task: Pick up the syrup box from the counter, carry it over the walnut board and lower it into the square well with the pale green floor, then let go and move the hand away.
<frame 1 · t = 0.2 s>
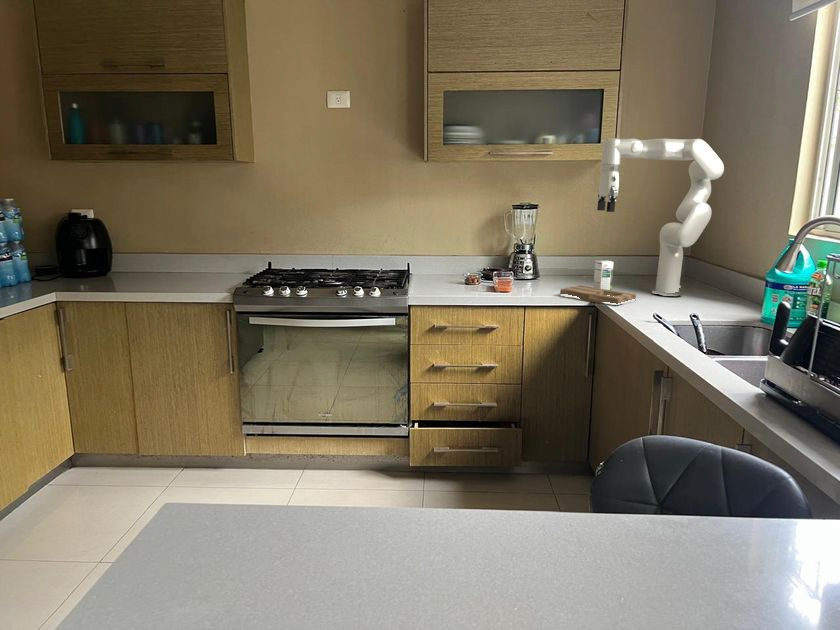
hand: (605, 211, 258), 36 cm above the countertop, tool pointing down, fingers open, 9 cm apart
syrup box: (601, 294, 271), on the countertop
board: (597, 298, 258), on the countertop
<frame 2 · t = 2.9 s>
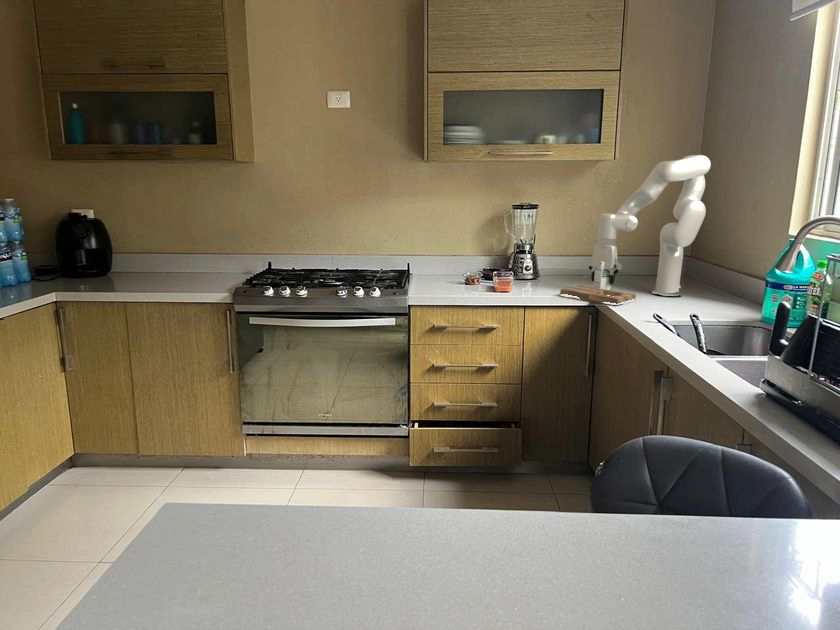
hand: (602, 282, 269), 5 cm above the countertop, tool pointing down, fingers closed on syrup box, 7 cm apart
syrup box: (601, 293, 271), on the countertop, touching gripper
when the fingers open (7 cm above the countertop, at t = 8.2 s): syrup box drops 1 cm, resting on board.
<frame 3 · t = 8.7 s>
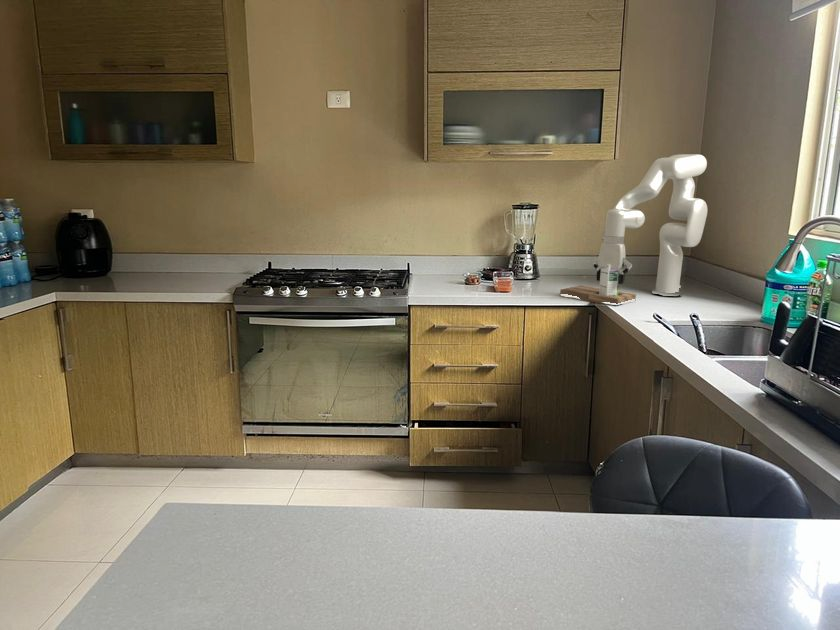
hand: (609, 282, 253), 8 cm above the countertop, tool pointing down, fingers open, 9 cm apart
syrup box: (607, 298, 255), point 1 cm above the countertop, touching board
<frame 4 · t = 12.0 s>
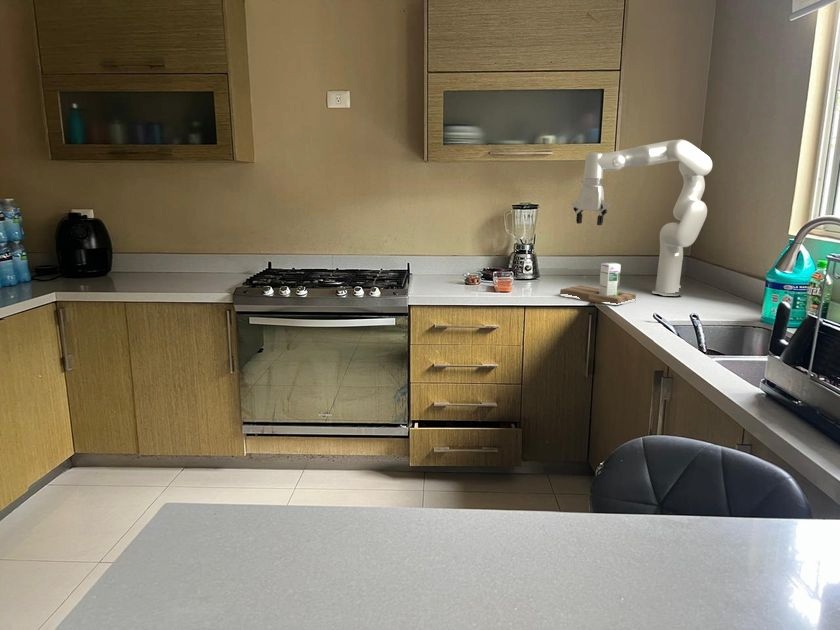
hand: (589, 224, 260), 30 cm above the countertop, tool pointing down, fingers open, 9 cm apart
nothing on the countertop moved.
at the end: syrup box 0.2 cm from the target spot on the board, point 0.9 cm above the board's base; syrup box tilted 0°; the gripper is holding nothing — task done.
